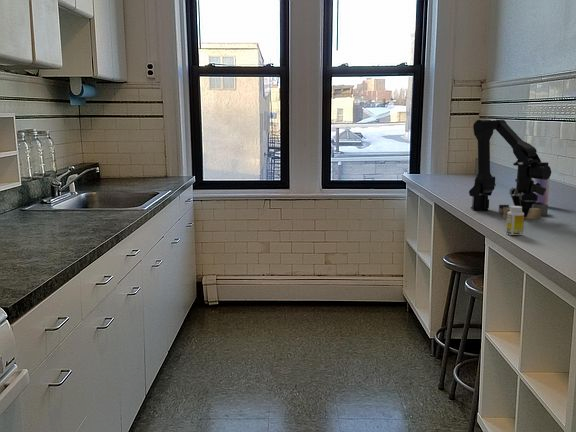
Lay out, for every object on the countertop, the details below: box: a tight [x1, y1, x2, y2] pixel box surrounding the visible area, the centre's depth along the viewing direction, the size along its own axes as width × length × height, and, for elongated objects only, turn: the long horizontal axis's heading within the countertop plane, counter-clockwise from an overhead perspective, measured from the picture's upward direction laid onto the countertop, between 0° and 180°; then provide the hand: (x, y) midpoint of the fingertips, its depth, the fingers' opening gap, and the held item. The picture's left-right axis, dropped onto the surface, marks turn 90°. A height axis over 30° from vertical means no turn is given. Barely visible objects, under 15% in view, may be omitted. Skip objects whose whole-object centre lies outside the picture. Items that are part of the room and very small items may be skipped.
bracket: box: [530, 202, 549, 217], centre depth 248 cm, size 6×8×4 cm
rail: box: [502, 208, 541, 220], centre depth 239 cm, size 14×4×4 cm, turn 94°
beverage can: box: [534, 176, 551, 206], centre depth 266 cm, size 6×6×15 cm
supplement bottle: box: [505, 205, 525, 236], centre depth 207 cm, size 6×6×10 cm
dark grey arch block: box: [498, 204, 511, 216], centre depth 249 cm, size 4×8×3 cm, turn 174°
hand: (521, 214), depth 240 cm, fingers open, 9 cm apart
